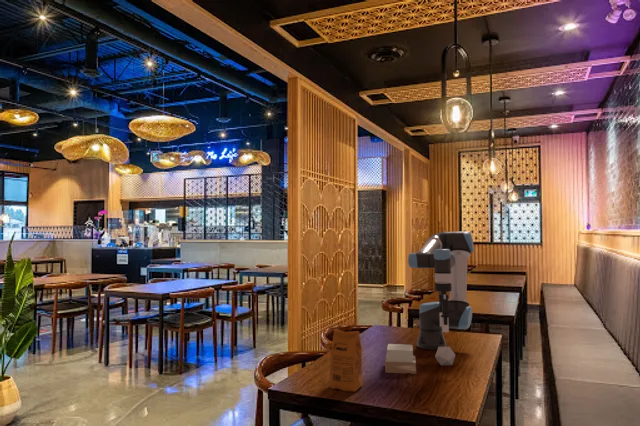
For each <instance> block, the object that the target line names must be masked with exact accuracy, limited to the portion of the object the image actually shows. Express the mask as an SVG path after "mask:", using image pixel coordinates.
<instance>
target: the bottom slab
mask: <svg viewBox="0 0 640 426" xmlns="http://www.w3.org/2000/svg"><path fill="white" fill-rule="evenodd" d="M416 361H417V360H416V355H414V354H413V362H388V361H387V353H386V355H385V360H384V366H385V367H384V369H385V372H384V373H387V374H390V373H391V374H406V373H411V374H412V375H417V362H416ZM411 374H410V375H411Z"/></svg>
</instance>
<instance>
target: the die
mask: <svg viewBox="0 0 640 426" xmlns="http://www.w3.org/2000/svg"><path fill="white" fill-rule="evenodd" d="M434 357H435V359H436V361H437V362H438V363H439V365H440V366H453V363H454V361H455V359H456V353H455V352H454V351H453V349H452V348H451V347H450V346H446V347H438V350H436V353H435V355H434Z"/></svg>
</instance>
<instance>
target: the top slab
mask: <svg viewBox="0 0 640 426" xmlns="http://www.w3.org/2000/svg"><path fill="white" fill-rule="evenodd" d="M413 349H414V347H413V344H403V343H402V344H401V343H400V344H399V343H388V344H387V347H386V354H387V361H388V362H413V355H414V351H413Z"/></svg>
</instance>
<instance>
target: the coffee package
mask: <svg viewBox="0 0 640 426" xmlns="http://www.w3.org/2000/svg"><path fill="white" fill-rule="evenodd" d="M360 334H361V333H360V331H359V330H357V331H343V330H339V329H336V328H335V329H333V335H332V342H331V350H330V367H329V380H330V384H329V385H330V386H329V387H330V389H331V388H332V389H331V390H334V389H336V390H340V391H342V390H343V391H342V392H357V391H358V390H359V389H360V387H362V386H363V376H362V369H363V366H362V363H363V361H362V360H363V359H362V356H363V355H362V354H363V349H362V343H361V338H360Z"/></svg>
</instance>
